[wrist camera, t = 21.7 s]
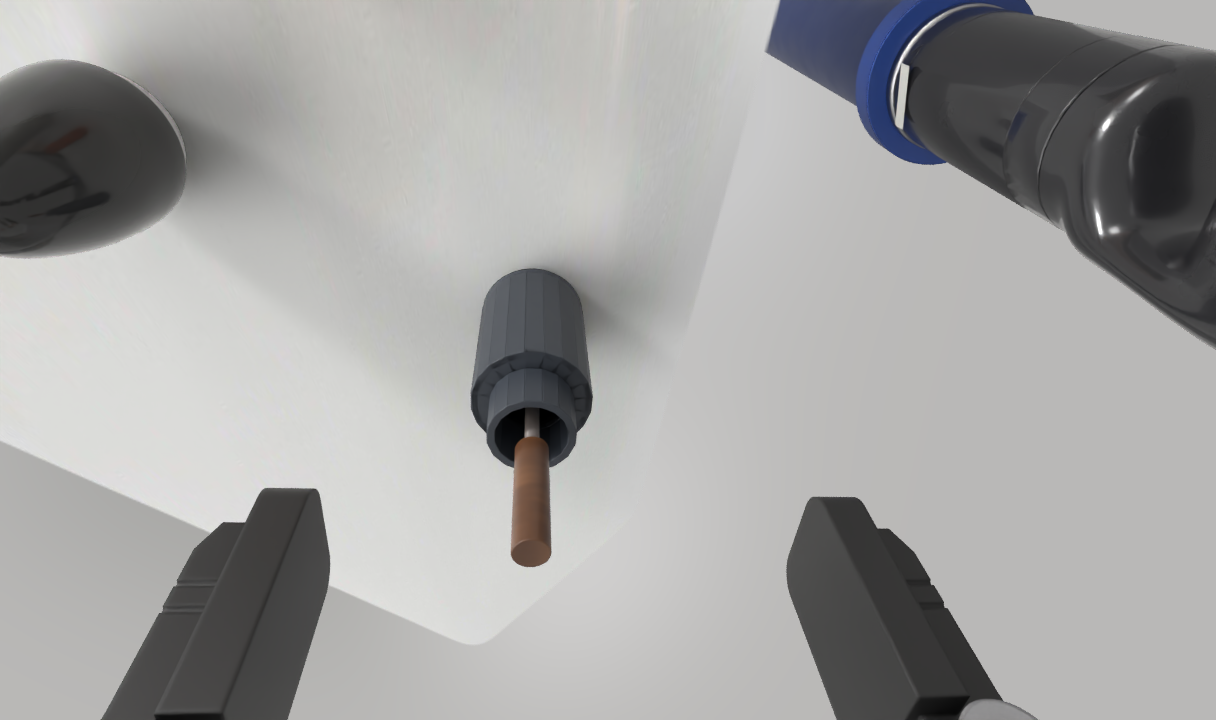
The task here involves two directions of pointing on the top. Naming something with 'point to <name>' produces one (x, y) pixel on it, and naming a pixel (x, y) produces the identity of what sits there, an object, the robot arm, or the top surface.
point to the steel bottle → (531, 364)
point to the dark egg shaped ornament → (82, 159)
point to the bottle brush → (531, 497)
